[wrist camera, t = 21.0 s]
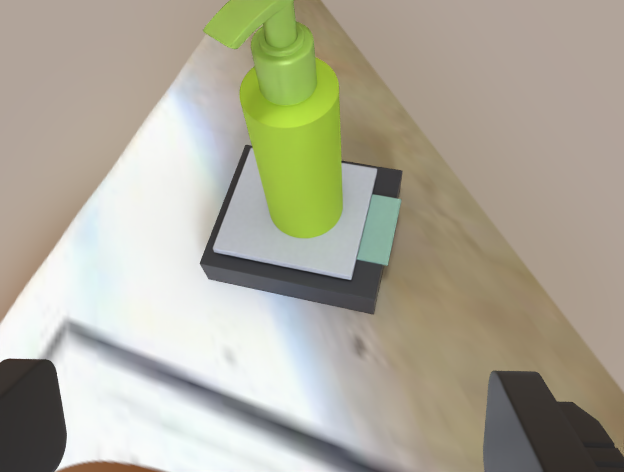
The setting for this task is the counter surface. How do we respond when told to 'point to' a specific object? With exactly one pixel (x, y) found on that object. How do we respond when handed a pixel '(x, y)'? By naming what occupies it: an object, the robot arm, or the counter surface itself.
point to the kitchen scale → (307, 240)
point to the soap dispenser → (288, 114)
